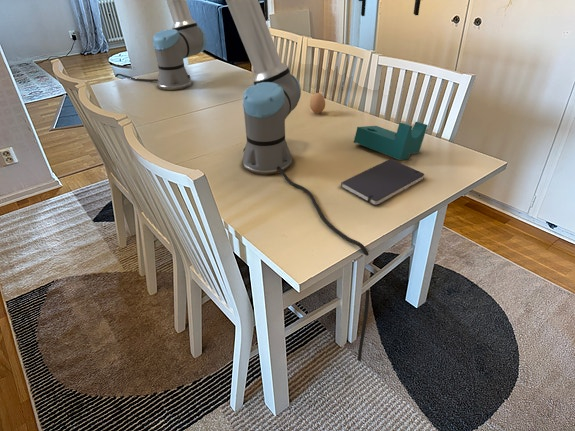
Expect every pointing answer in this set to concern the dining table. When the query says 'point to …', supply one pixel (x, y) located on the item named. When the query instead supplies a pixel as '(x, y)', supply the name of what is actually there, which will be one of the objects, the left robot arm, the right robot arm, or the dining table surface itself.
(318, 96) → the egg
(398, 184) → the notebook
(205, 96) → the dining table surface
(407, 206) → the dining table surface
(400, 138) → the teal l-shaped bracket
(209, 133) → the dining table surface
